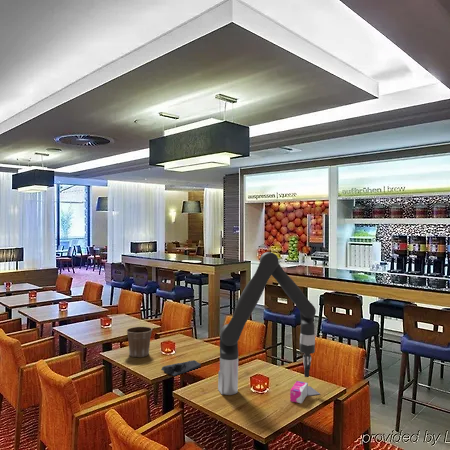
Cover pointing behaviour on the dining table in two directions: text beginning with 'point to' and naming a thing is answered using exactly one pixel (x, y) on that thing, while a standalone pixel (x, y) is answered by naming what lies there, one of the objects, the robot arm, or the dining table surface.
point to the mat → (312, 391)
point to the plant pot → (139, 341)
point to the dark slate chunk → (181, 367)
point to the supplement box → (299, 392)
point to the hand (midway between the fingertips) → (306, 376)
